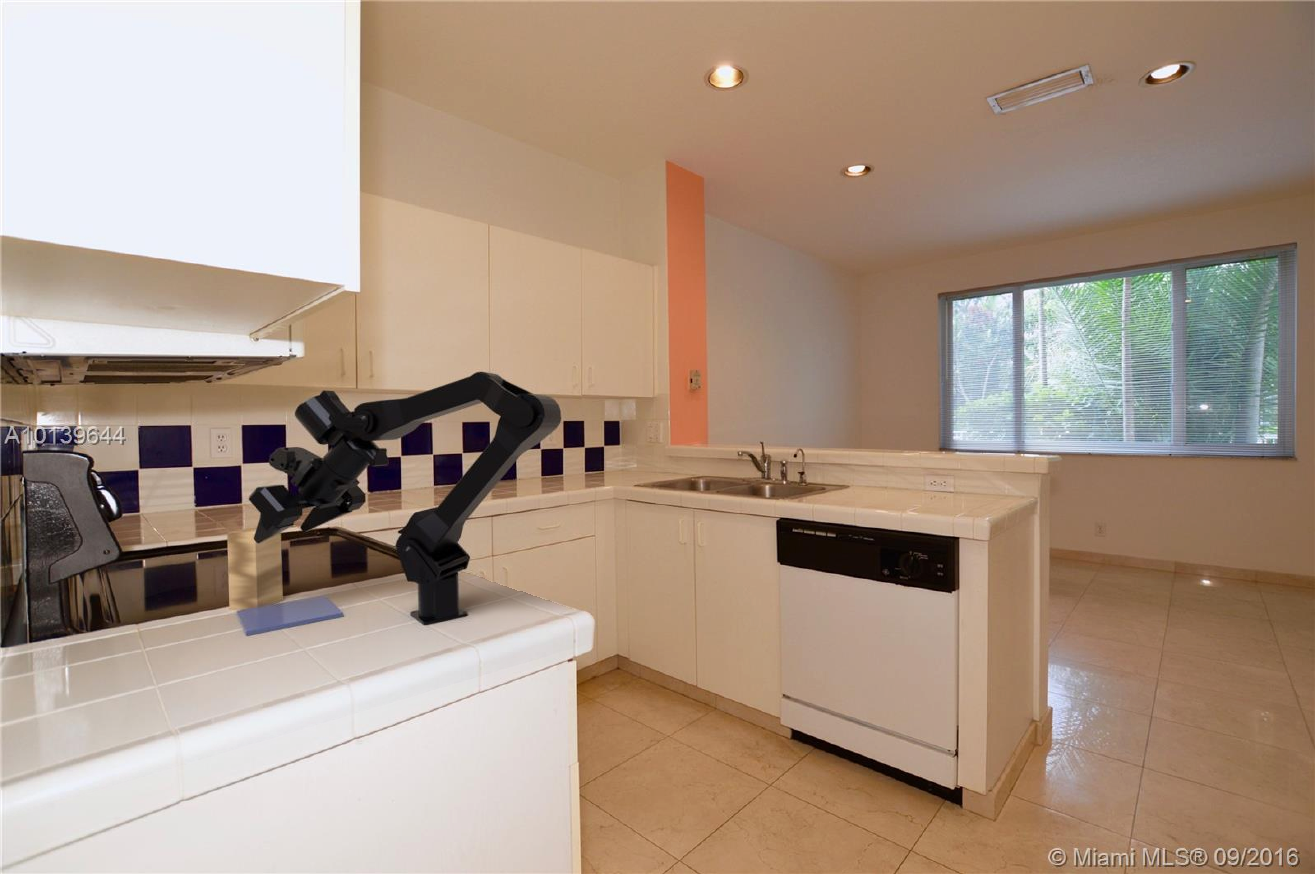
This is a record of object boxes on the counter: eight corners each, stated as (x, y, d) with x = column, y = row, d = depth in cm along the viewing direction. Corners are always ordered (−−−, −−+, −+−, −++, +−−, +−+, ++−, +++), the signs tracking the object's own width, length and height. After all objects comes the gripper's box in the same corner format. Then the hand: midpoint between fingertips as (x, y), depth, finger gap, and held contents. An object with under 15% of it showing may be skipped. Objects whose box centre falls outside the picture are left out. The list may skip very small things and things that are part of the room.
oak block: (282, 600, 98) (280, 527, 97) (257, 610, 93) (255, 533, 92) (256, 599, 99) (253, 527, 98) (229, 609, 94) (227, 532, 93)
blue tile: (343, 616, 89) (343, 612, 89) (246, 635, 82) (246, 631, 82) (325, 598, 98) (325, 595, 98) (236, 614, 91) (236, 610, 91)
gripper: (348, 428, 102) (293, 491, 105) (258, 430, 84) (193, 507, 86) (391, 475, 101) (334, 538, 103) (309, 487, 83) (242, 563, 85)
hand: (280, 535), depth 95 cm, fingers open, 9 cm apart
